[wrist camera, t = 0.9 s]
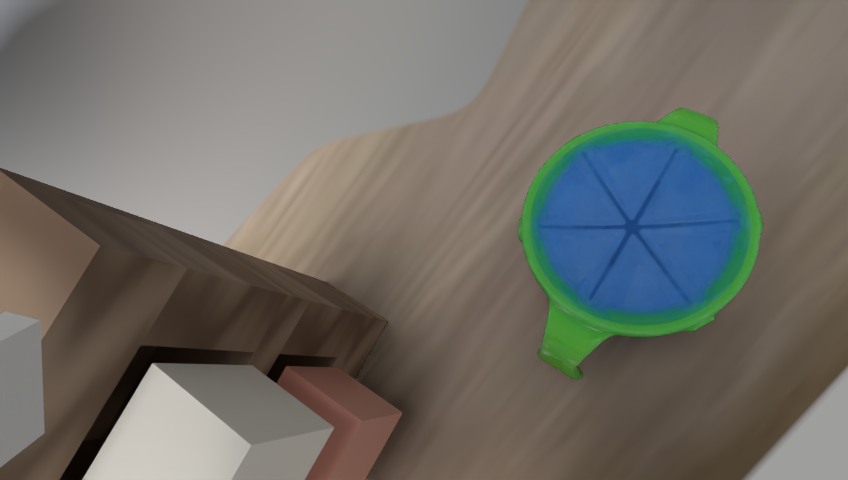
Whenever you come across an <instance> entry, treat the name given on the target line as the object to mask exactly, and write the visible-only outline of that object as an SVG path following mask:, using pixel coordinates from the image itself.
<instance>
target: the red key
mask: <svg viewBox="0 0 848 480" xmlns="http://www.w3.org/2000/svg"><path fill="white" fill-rule="evenodd" d="M276 384H278V385H279V386H280V387H282V388H283V389H284V390H286V391H287V392H288V393H290V394H291V395H292V396H294V397H295V398H296V399H298V400H299V401H300V402H302V403H303V404H304V405H305V406H307V407H308V408H309V409H311V410H312V411H313V412H315V413H316V414H317V415H319V416H320V417H321V418H323V419H324V420H325V421H327V422H328V423H329V424H331V425H332V426H333V427H334V429H333V431H332V433H331V434H330V436H329V438H328V440H327V441H326V443H325V445H324V447H323V448H322V450H321V452H320V454H319V455H318V457H317V459H316V461H315V462H314V464H313V466H312V468H311V470H310V471H309V473H308V475H307V477H306V478H305V480H365V479H366V477H367V476H368V474H369V472H370V470H371V468H372V467H373V465H374V463H375V461H376V460H377V458H378V456H379V454H380V452H381V451H382V449H383V447H384V445H385V444H386V442H387V440H388V438H389V436H390V435H391V433H392V431H393V429H394V427H395V426H396V424H397V422H398V420H399V419H400V417H401V415H402V413H403V412H401V411H400V410H398V409H397V408H395V407H394V406H392V405H391V404H390V403H388V402H387V401H385V400H384V399H382V398H381V397H380V396H378V395H377V394H375V393H374V392H372V391H371V390H370V389H368V388H367V387H365V386H364V385H362V384H361V383H359V382H358V381H357V380H355V379H354V378H352V377H351V376H349V375H348V374H347V373H345V372H344V371H342V370H341V369H339V368H338V367H302V366H286V368H285V370H284V371H283V373H282V375H281V377H280V378H279V380H278V382H277V383H276Z"/></svg>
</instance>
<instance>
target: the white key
mask: <svg viewBox="0 0 848 480" xmlns="http://www.w3.org/2000/svg"><path fill="white" fill-rule="evenodd" d="M333 429H334V427H333V426H332V425H331V424H329V423H328V422H327V421H325V420H324V419H323V418H321V417H320V416H319V415H317V414H316V413H315V412H313V411H312V410H311V409H309V408H308V407H307V406H305V405H304V404H303V403H302V402H300V401H299V400H298V399H296V398H295V397H294V396H292V395H291V394H290V393H288V392H287V391H286V390H284V389H283V388H282V387H280V386H279V385H278V384H276V383H275V382H274V381H272V380H271V379H270V378H268V377H267V376H266V375H264V374H263V373H262V372H260V371H259V370H258V369H256V368H255V367H254V366H252V365H218V364H177V363H152V364H151V366H150V368H149V369H148V371H147V373H146V374H145V376H144V378H143V379H142V381H141V383H140V384H139V386H138V388H137V389H136V391H135V393H134V394H133V396H132V398H131V399H130V401H129V403H128V404H127V406H126V408H125V409H124V411H123V413H122V414H121V416H120V418H119V419H118V421H117V423H116V424H115V426H114V428H113V429H112V431H111V433H110V434H109V436H108V438H107V439H106V441H105V443H104V444H103V446H102V448H101V449H100V451H99V453H98V454H97V456H96V458H95V459H94V461H93V463H92V464H91V466H90V468H89V469H88V471H87V473H86V474H85V476H84V478H83V479H82V480H305V478H306V477H307V475H308V473H309V471H310V470H311V468H312V466H313V464H314V462H315V461H316V459H317V457H318V455H319V454H320V452H321V450H322V448H323V447H324V445H325V443H326V441H327V440H328V438H329V436H330V434H331V433H332V431H333Z"/></svg>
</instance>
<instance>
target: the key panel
mask: <svg viewBox="0 0 848 480" xmlns="http://www.w3.org/2000/svg"><path fill="white" fill-rule="evenodd" d="M3 312H9V313H13V314H17V315H21V316H25V317H29V318H33V319H37V320H40V323H41V349H42V376H43V403H44V430H45V433H44V434H43V435H41V436H40V437H39V438H38V439H36V440H35V441H34V442H32V443H31V444H30V445H29V446H27V447H26V448H25V449H23V450H22V451H21V452H20V453H18V454H17V455H16V456H14V457H13V458H12V459H11V460H9V461H8V462H7V463H5V464H4V465H3V466H2V467H0V480H82V479H83V478H84V476H85V474H86V473H87V471H88V469H89V468H90V466H91V464H92V463H93V461H94V459H95V458H96V456H97V454H98V453H99V451H100V449H101V448H102V446H103V444H104V443H105V441H106V439H107V438H108V436H109V434H110V433H111V431H112V429H113V428H114V426H115V424H116V423H117V421H118V419H119V418H120V416H121V414H122V413H123V411H124V409H125V408H126V406H127V404H128V403H129V401H130V399H131V398H132V396H133V394H134V393H135V391H136V389H137V388H138V386H139V384H140V383H141V381H142V379H143V378H144V376H145V374H146V373H147V371H148V369H149V368H150V366H151V364H152V363H177V364H218V365H252V366H254V367H255V368H256V369H258V370H259V371H260V372H262V373H263V374H264V375H266V376H267V377H268V378H270V379H271V380H272V381H274V382H275V383H277V382H278V380H279V378H280V377H281V375H282V373H283V371H284V370H285V368H286V366H302V367H338V368H339V369H341V370H342V371H344V372H345V373H347V374H348V375H349V376H351V377H352V378H354V379H355V378H356V376H357V374H358V373H359V371H360V369H361V367H362V366H363V364H364V362H365V360H366V359H367V357H368V355H369V353H370V352H371V350H372V348H373V346H374V345H375V343H376V341H377V339H378V338H379V336H380V334H381V332H382V331H383V329H384V327H385V325H386V324H387V322H388V321H387V320H385V319H384V318H382V317H380V316H379V315H377V314H376V313H374V312H372V311H371V310H369V309H368V308H366V307H364V306H363V305H361V304H360V303H358V302H356V301H355V300H353V299H352V298H350V297H348V296H347V295H345V294H344V293H342V292H340V291H339V290H337V289H336V288H334V287H332V286H331V285H329V284H328V283H326V282H324V281H321V280H318V279H316V278H313V277H310V276H307V275H304V274H301V273H298V272H296V271H293V270H290V269H287V268H284V267H281V266H279V265H276V264H273V263H270V262H267V261H264V260H261V259H259V258H256V257H253V256H250V255H247V254H244V253H241V252H239V251H236V250H233V249H230V248H227V247H224V246H221V245H219V244H215V243H213V242H210V241H207V240H204V239H202V238H199V237H196V236H193V235H190V234H187V233H184V232H181V231H178V230H176V229H173V228H170V227H167V226H164V225H162V224H158V223H156V222H153V221H150V220H147V219H144V218H142V217H138V216H136V215H133V214H130V213H127V212H124V211H122V210H119V209H116V208H113V207H110V206H107V205H105V204H102V203H98V202H96V201H93V200H90V199H87V198H85V197H82V196H79V195H76V194H73V193H70V192H67V191H65V190H62V189H59V188H56V187H53V186H50V185H48V184H45V183H41V182H39V181H36V180H33V179H30V178H27V177H24V176H22V175H19V174H16V173H13V172H10V171H8V170H5V169H2V168H0V314H1V313H3Z"/></svg>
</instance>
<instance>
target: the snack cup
mask: <svg viewBox="0 0 848 480" xmlns="http://www.w3.org/2000/svg"><path fill="white" fill-rule="evenodd" d="M718 128H719V127H718V122H717V121H716V120H714V119H712V118H710V117H708V116H705V115H703V114H700V113H697V112H695V111H692V110H688V109H684V108H679V109H676V110H675V111H673V112H671V113H669V114H668V115H666V116H665V117H664V118H663V119H661V120H659V121H658V122H656V123H654V122H639V121H638V122H623V123H616V124H612V125H606V126H603V127H599V128H596V129H594V130H591V131H589V132H587V133H585V134H583V135H580V136H577V137H575V138H573V139H572V140H570V141H569V142H568V143H566V144H565V145H564V146H563V147H562V148H560V149H559V150H558V151H557V152H556V153H555V154H554V155H553V156H552V157H551V158H550V159H549V160H548V161H547V162H546V163H545V164H544V166H543V167H542V168H541V169H540V170H539V171H538V173H537V175H536V177H535V178H534V180H533V182H532V184H531V186H530V189H529V191H528V194H527V197H526V200H525V204H524V208H523V215H522V218H521V219H520V220H519V231H518V235H519V239H520V241H521V242H522V243H523V246H524V251H525V255H526V258H527V261H528V263H529V266H530V268H531V270H532V272H533V274H534V276H535V278H536V280H537V282H538V283H539V285H540V286H541V288H542V289H543V290H544V291H545V293H546V294H547V296H548V299H549V313H548V317H547V322H546V327H545V332H544V338H543V341H542V347H541V348H540V349H538V352H537V354H538V356H539V357H540V358H541V359H542V360H544V361H545V362H547V363H549V364H551V365H553V366H554V367H555V368H557V369H559V370H561V371H562V372H563V373H565V374H566V375H568V376H570V377H572V378H574V379H580V378H582V377H583V373H582V371H581V370H580V369H579V368H578V365H579V364H580V363H581V362H582V360H583V359H584V358H585V357H586V356H587V355H588V354H589V353H591V352H592V351H593V350H594V349H595V348H596V347H597V346H598V345H599V344H600V343H601V342H603V341H604V340H605V339H607V338H609V337H611V336H614V335H621V336H630V337H654V336H662V335H668V334H672V333H676V332H679V331H694V330H696V329H698V328H700V327H702V326H704V325H706V324H708V323H709V322H711V321H713V320H714V317H715V314H716V313H717V312H718V311H720V310H721V309H722V308H723V307H724V306H725V305H727V304H728V303H729V302H730V301H731V300H732V298H733V297H734V296H735V295H736V294H737V293H738V292H739V291H740V289H741V288H742V287H743V285H744V284H745V282H746V281H747V279H748V277H749V275H750V273H751V271H752V269H753V266H754V263H755V260H756V257H757V253H758V249H759V243H760V235H761V234H762V226H763V222H762V215H761V212H760V211H758V207H757V203H756V199H755V196H754V193H753V191H752V189H751V188H750V186H749V183H748V181H747V180H746V178H745V177H744V175H743V173H742V172H741V171H740V169H739V168H738V167H737V166H736V165H735V163H734V162H733V161H732V160H731V159H730V158H729V157H728V156H727V155H726V154H725V153H724V152H723V151H722V150H720V149H719V148H718V147H717V138H718Z"/></svg>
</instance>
